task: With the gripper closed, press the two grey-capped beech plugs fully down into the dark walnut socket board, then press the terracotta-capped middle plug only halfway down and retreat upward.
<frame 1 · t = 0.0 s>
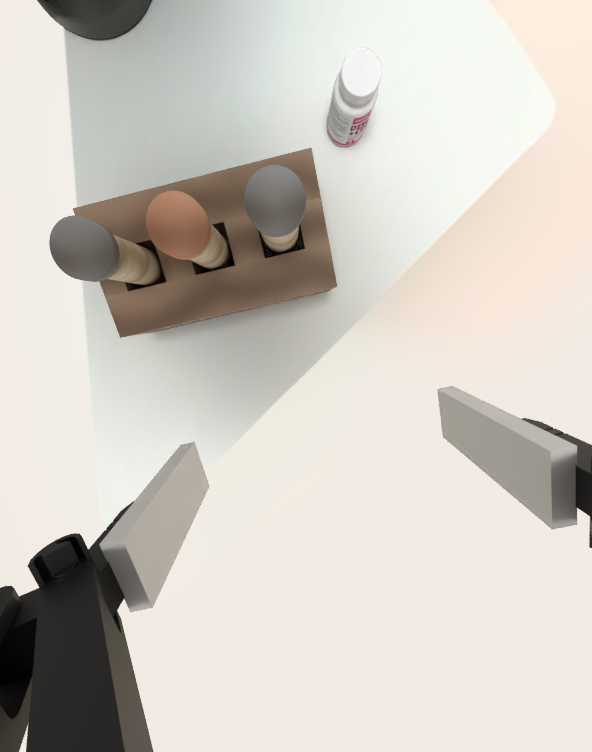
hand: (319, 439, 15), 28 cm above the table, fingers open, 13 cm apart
plug 1: (124, 261, 29), point 11 cm above the table, slide at 0.0 cm
plug middle: (200, 242, 28), point 11 cm above the table, slide at 0.0 cm
pill bottle: (345, 127, 36), on the table
plug 2: (278, 223, 28), point 11 cm above the table, slide at 0.0 cm
socket board: (225, 260, 39), on the table
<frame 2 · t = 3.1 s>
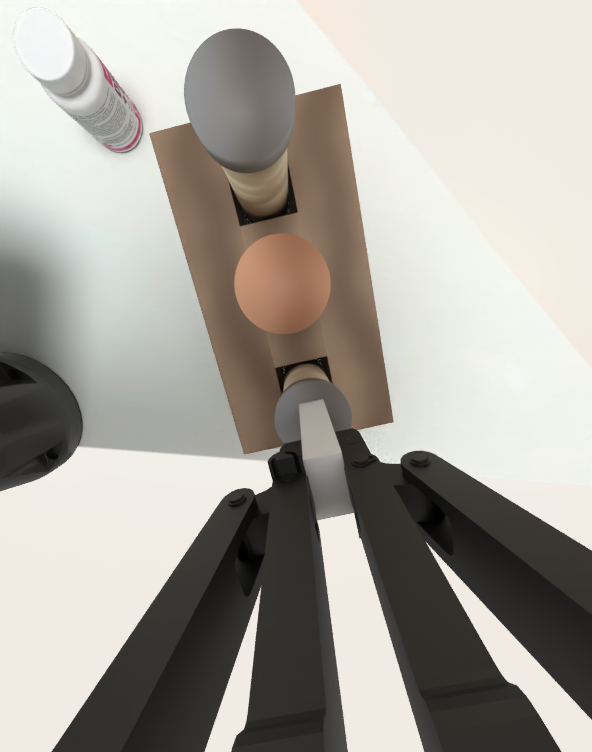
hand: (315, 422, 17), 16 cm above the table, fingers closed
plug 1: (307, 392, 23), point 10 cm above the table, slide at 1.6 cm, touching gripper
plug middle: (285, 292, 20), point 11 cm above the table, slide at 0.0 cm
pill bottle: (119, 126, 27), on the table
plug 2: (256, 166, 18), point 11 cm above the table, slide at 0.0 cm
socket board: (287, 298, 31), on the table
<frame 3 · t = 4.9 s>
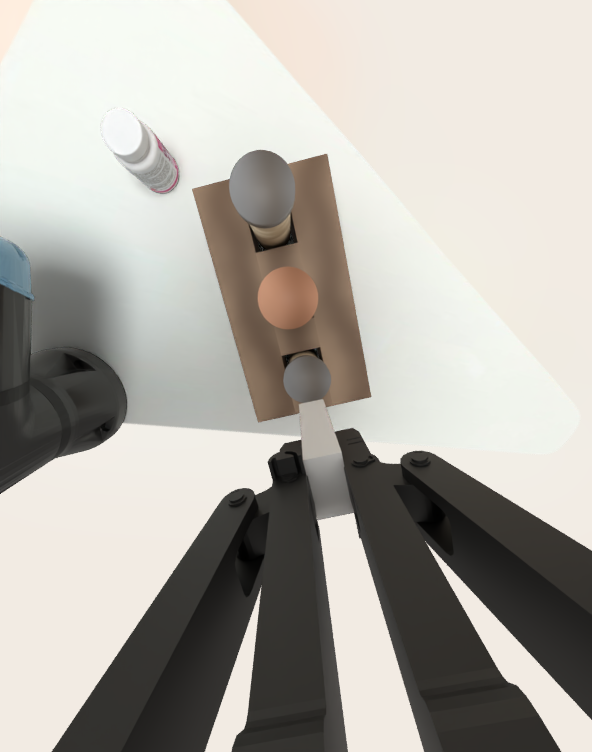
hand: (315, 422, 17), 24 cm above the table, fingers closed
plug 1: (304, 368, 35), point 7 cm above the table, slide at 4.4 cm
plug middle: (288, 300, 28), point 11 cm above the table, slide at 0.0 cm
pill bottle: (161, 173, 36), on the table
plug 2: (268, 215, 27), point 11 cm above the table, slide at 0.0 cm
socket board: (289, 303, 39), on the table
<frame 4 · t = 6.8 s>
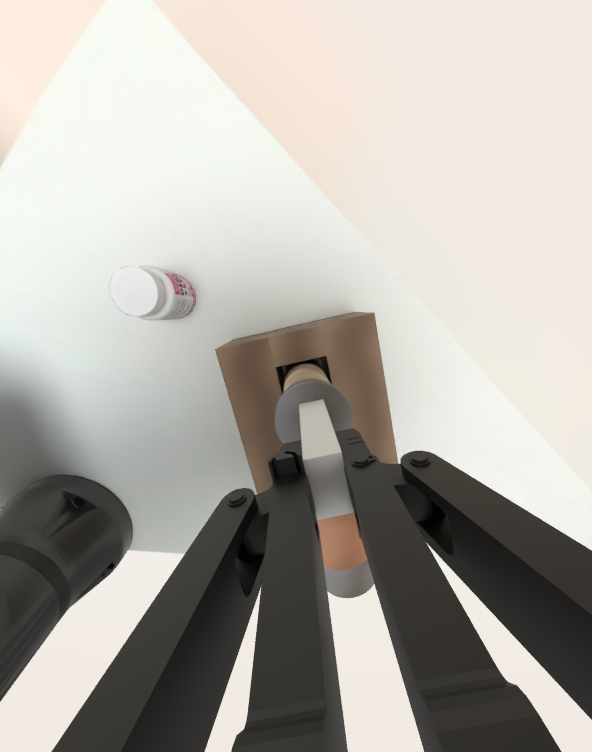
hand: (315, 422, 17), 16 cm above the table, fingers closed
plug 1: (337, 523, 30), point 7 cm above the table, slide at 4.4 cm
plug middle: (328, 483, 24), point 11 cm above the table, slide at 0.0 cm
pill bottle: (175, 296, 31), on the table
plug 2: (307, 392, 23), point 10 cm above the table, slide at 1.0 cm, touching gripper
socket board: (316, 430, 35), on the table
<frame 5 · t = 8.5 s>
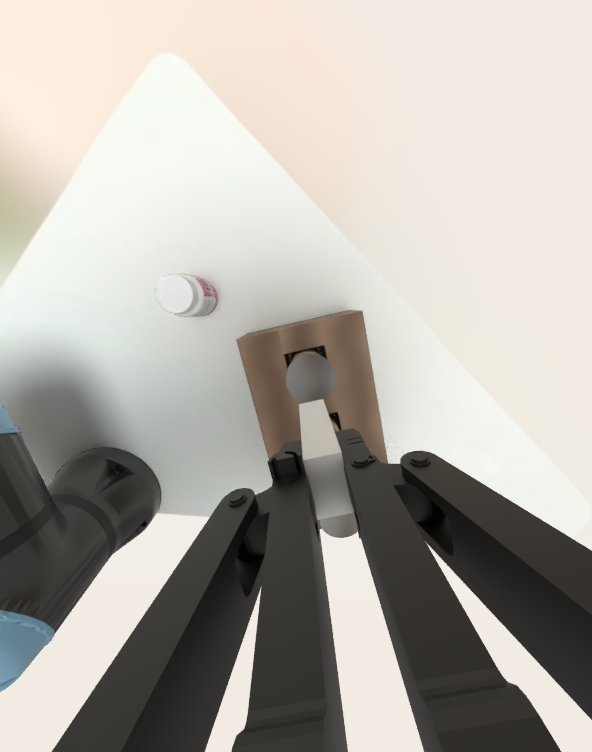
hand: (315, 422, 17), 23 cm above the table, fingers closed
plug 1: (334, 485, 37), point 7 cm above the table, slide at 4.4 cm
plug middle: (325, 445, 31), point 11 cm above the table, slide at 0.0 cm
pill bottle: (200, 297, 38), on the table
plug 2: (307, 367, 33), point 7 cm above the table, slide at 4.4 cm
socket board: (317, 410, 42), on the table
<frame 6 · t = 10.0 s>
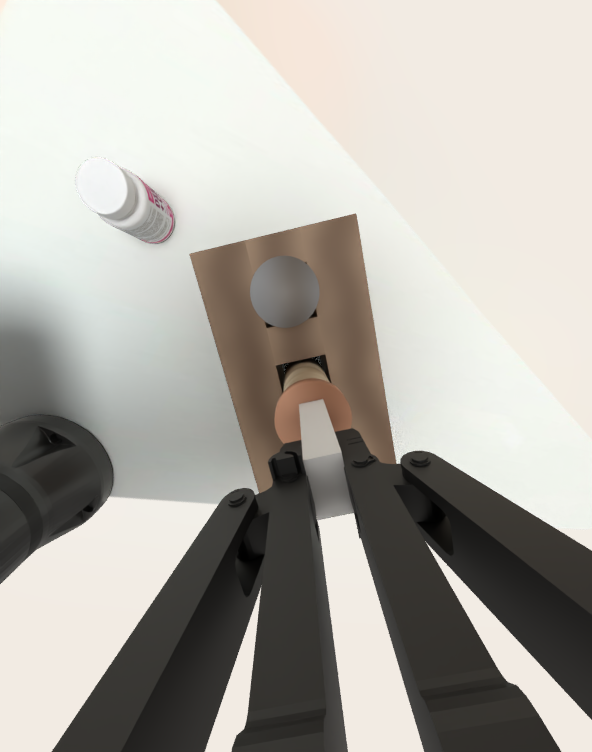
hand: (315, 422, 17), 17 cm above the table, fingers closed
plug middle: (307, 392, 23), point 11 cm above the table, slide at 0.4 cm, touching gripper
pill bottle: (153, 220, 30), on the table
plug 2: (286, 296, 26), point 7 cm above the table, slide at 4.4 cm
socket board: (302, 366, 34), on the table
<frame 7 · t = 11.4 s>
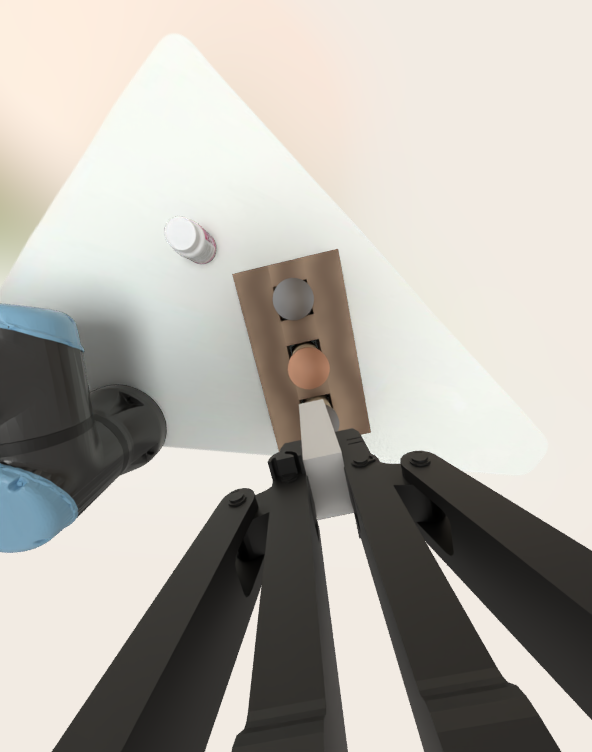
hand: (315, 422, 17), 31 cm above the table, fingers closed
plug 1: (317, 408, 43), point 7 cm above the table, slide at 4.4 cm
plug middle: (306, 359, 39), point 9 cm above the table, slide at 2.0 cm
pill bottle: (201, 248, 44), on the table
plug 2: (293, 300, 39), point 7 cm above the table, slide at 4.4 cm
socket board: (304, 350, 47), on the table
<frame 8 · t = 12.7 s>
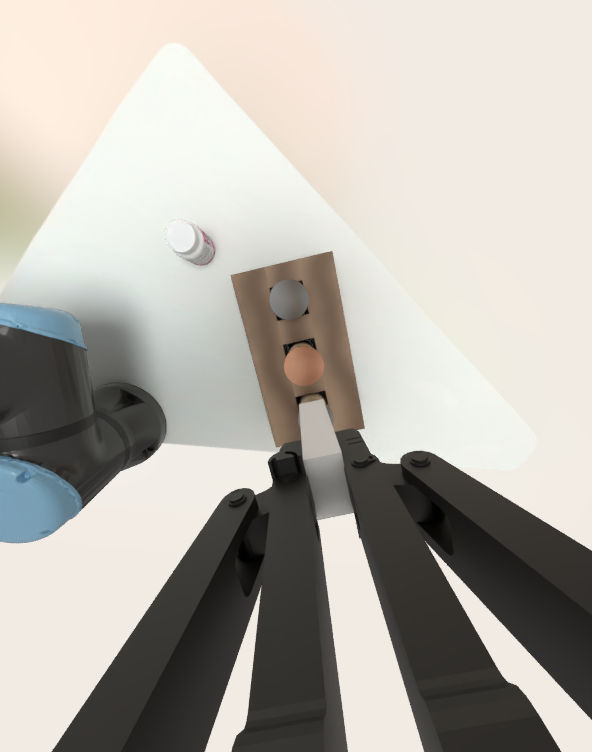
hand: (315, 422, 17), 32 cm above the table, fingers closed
plug 1: (312, 405, 44), point 7 cm above the table, slide at 4.4 cm
plug middle: (302, 358, 40), point 9 cm above the table, slide at 2.0 cm
pill bottle: (200, 249, 45), on the table
plug 2: (289, 301, 40), point 7 cm above the table, slide at 4.4 cm
socket board: (300, 349, 49), on the table
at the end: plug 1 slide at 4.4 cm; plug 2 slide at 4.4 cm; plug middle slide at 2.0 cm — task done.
